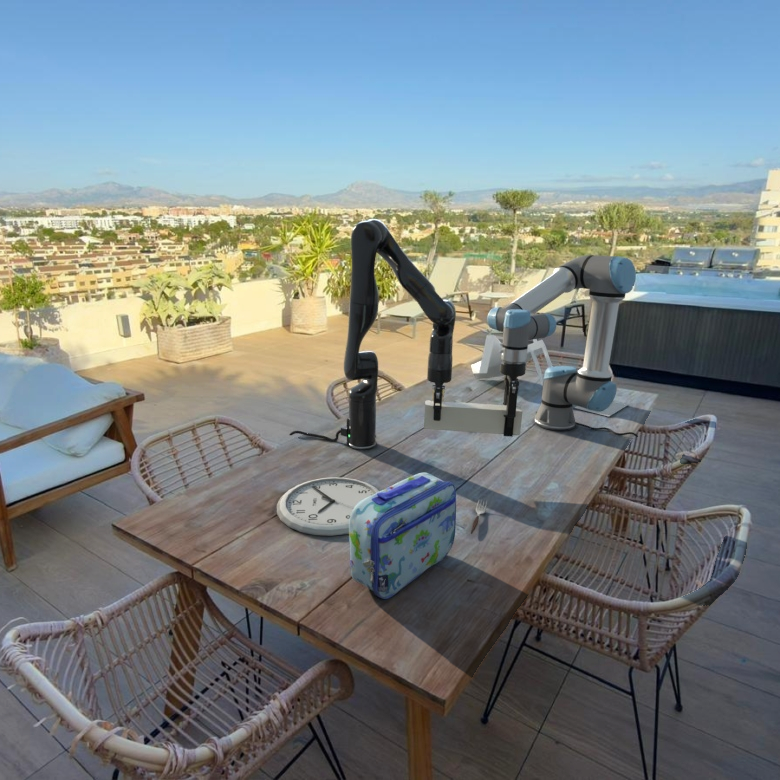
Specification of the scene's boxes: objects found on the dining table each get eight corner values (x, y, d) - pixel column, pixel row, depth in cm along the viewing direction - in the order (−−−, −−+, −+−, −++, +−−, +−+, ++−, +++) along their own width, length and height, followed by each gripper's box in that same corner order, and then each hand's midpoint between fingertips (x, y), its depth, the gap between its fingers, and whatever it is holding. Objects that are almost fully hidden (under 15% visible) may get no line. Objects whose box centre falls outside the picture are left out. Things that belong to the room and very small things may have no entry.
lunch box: (377, 612, 103) (378, 518, 97) (342, 586, 111) (341, 497, 104) (459, 557, 121) (465, 475, 115) (425, 538, 128) (428, 460, 122)
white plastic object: (492, 421, 263) (472, 398, 238) (473, 348, 285) (453, 320, 260) (564, 397, 251) (551, 370, 226) (538, 322, 273) (524, 290, 248)
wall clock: (392, 527, 129) (268, 531, 127) (391, 533, 130) (269, 537, 127) (383, 473, 158) (282, 475, 155) (383, 478, 158) (282, 480, 156)
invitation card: (608, 416, 214) (573, 407, 224) (608, 416, 214) (573, 408, 224) (628, 404, 229) (594, 396, 238) (628, 405, 229) (594, 397, 238)
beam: (518, 429, 167) (520, 406, 165) (519, 435, 163) (522, 411, 160) (424, 423, 171) (425, 400, 168) (423, 428, 166) (424, 405, 164)
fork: (465, 534, 130) (466, 527, 129) (478, 504, 144) (478, 498, 144) (476, 536, 129) (476, 529, 128) (487, 506, 143) (488, 499, 143)
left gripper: (429, 359, 169) (426, 409, 174) (426, 371, 155) (424, 424, 161) (452, 360, 168) (449, 410, 173) (451, 372, 155) (448, 426, 160)
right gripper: (498, 353, 168) (493, 421, 175) (503, 368, 150) (497, 442, 157) (522, 354, 167) (515, 422, 174) (530, 369, 150) (522, 444, 157)
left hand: (437, 416), depth 167 cm, fingers closed on beam, 5 cm apart
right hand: (507, 432), depth 166 cm, fingers closed on beam, 5 cm apart
